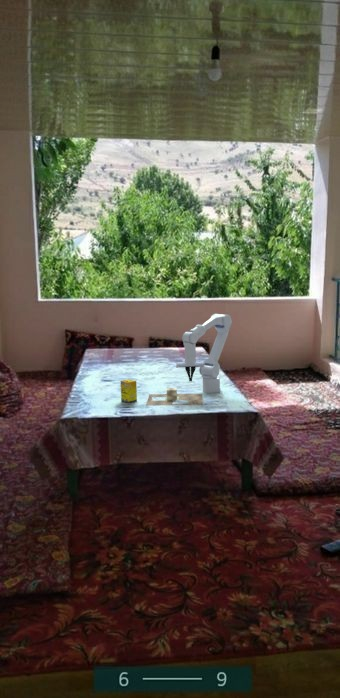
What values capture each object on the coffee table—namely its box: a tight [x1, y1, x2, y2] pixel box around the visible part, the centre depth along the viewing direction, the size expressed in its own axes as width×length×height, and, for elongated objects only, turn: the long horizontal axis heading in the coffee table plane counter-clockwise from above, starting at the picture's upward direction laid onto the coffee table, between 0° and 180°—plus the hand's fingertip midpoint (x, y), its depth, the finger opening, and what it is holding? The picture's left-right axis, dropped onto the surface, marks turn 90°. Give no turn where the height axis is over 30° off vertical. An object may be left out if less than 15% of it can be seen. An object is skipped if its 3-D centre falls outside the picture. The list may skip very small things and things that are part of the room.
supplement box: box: [120, 378, 138, 404], centre depth 270 cm, size 6×6×11 cm
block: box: [166, 387, 178, 401], centre depth 268 cm, size 5×5×5 cm
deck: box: [145, 393, 204, 406], centre depth 267 cm, size 28×22×2 cm
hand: (190, 380), depth 272 cm, fingers closed
